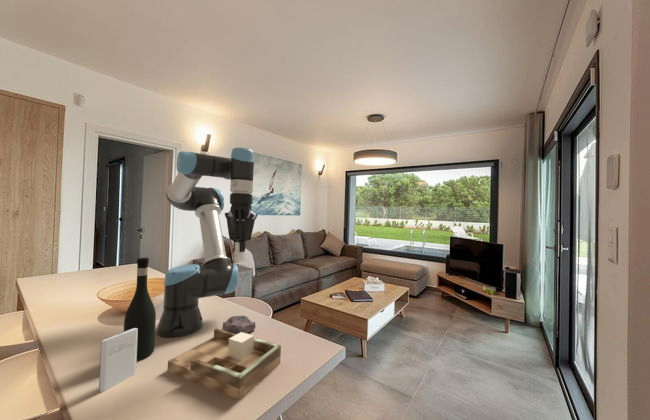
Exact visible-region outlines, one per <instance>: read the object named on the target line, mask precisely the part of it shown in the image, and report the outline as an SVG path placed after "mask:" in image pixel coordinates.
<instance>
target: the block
mask: <svg viewBox="0 0 650 420" xmlns="http://www.w3.org/2000/svg"><path fill="white" fill-rule="evenodd" d="M254 339H255V335H254V334H253V335H252V334H250V333H243V332H240V333H238V334H237V335H235V336H233V337H231V338H229V348H228V356H230V357H233V358H236V359H238V360H243V359H244V358H246V357H247V356H249V355H250V354H251V353H253V344H254Z"/></svg>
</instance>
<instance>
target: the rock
mask: <svg viewBox="0 0 650 420" xmlns="http://www.w3.org/2000/svg"><path fill="white" fill-rule="evenodd" d="M221 328H222V329H221V330H223V331H227V332H231V333H234V334H238V333H240V332H243V333H246V334H249V333H252V332H255V329H256V322H255V321H253V320H250V319H249V317H248V316H247V315H234V316H231V317H229V318H228V319H226V320H225V321H223V322H222V327H221Z"/></svg>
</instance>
